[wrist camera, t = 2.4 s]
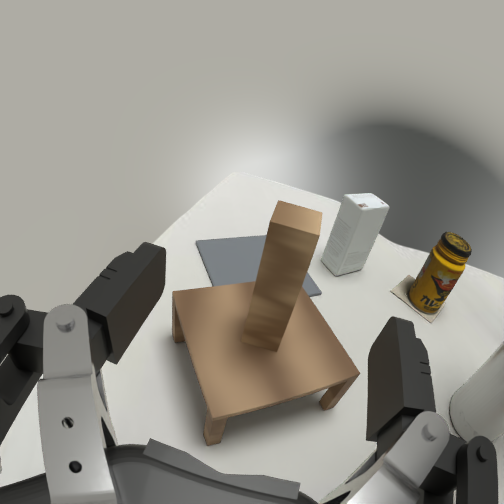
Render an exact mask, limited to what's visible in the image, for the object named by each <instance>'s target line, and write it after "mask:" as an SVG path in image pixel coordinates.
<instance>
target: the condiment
mask: <svg viewBox="0 0 504 504" xmlns="http://www.w3.org/2000/svg"><path fill="white" fill-rule="evenodd" d="M470 255H471V247H470V245H469V244H468V243H467V242H466V241H465V240H464V239H463V238H461V237H460V236H458V235H457V234H454V233H451V232H445V233H444V234H443V235H442V236H441V239H440V240H439V242H438V244H437V245H436V246H435V247H433V249H432V250H431V252H430V254H429V256H428V258H427V260H426V262H425V263H424V265H423V267H422V269H421V271H420V273H419V274H418V276H417V278H416V279H414V278H413V277H411V276H410V275H408V276H407V277H406V278H405V279H404V280H403V281H402V282H400V283H399V284H398V285H397V286H396V287H395V288H393V289H392V290H391V292H392V293H394V294H395V295H396V296H398V297H399V298H401V299H402V300H403V301H404V302H406V303H407V304H408V305H409V306H410V307H411V308H413V309H414V310H415V311H416V312H418V313H419V314H420V315H421V316H423V317H424V318H425V319H426V320H428V321H429V322H431V323H432V322H433V320H434V319H435V318H436V316H437V315H438V314H439V312H440V311H441V309H442V308H443V307H444V305H445V304H446V303H445V302H444V301H445V300H446V298H447V296H448V295H449V294H450V292H451V290H452V289H453V287H454V286H455V284H456V283H457V281H458V279H459V277H460V276H461V274H462V273H463V271H464V269H465V263H466V262H467V260H468V257H469V256H470ZM405 293H406V294H405ZM406 295H407V296H406Z"/></svg>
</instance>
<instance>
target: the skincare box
mask: <svg viewBox="0 0 504 504" xmlns="http://www.w3.org/2000/svg"><path fill="white" fill-rule="evenodd" d="M388 210H389V206H388V205H387V204H386V203H385V202H383V201H382V200H380V199H379V198H378V197H376V196H375V195H373V194H372V193H366V194H350V195H349V194H348V195H344V197H343V200H342V203H341V206H340V209H339V212H338V215H337V217H336V220H335V223H334V226H333V229H332V231H331V234H330V237H329V240H328V242H327V245H326V248H325V250H324V253H323V256H322V258H321V260H322V262H323V263H324V264H325V266H326V267H327V268H328V269H329V270H330V271H331V272H332V273H333V274H334V275H335V276H339V275H342V274H346V273H349V272H353V271H357V270H360V269H362V268H363V266H364V264H365V262H366V260H367V257H368V255H369V253H370V251H371V249H372V246H373V244H374V242H375V240H376V237H377V235H378V233H379V230H380V228H381V226H382V224H383V221H384V219H385V217H386V214H387V212H388Z"/></svg>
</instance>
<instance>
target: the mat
mask: <svg viewBox="0 0 504 504" xmlns="http://www.w3.org/2000/svg"><path fill="white" fill-rule="evenodd" d="M266 236H267V235H264V236H250V237H237V238H224V239H211V240H198V241H196V245H197V247H198V250H199V252H200V255H201V257H202V260H203V262H204V265H205V267H206V270H207V272H208V275H209V277H210V280H211V282H212V285H213V287H214V286H222V285H230V284H238V283H245V282H253V281H256V278H257V274H258V269H259V265H260V261H261V257H262V253H263V249H264V244H265V240H266ZM302 287H303V288H304V290H305V291H306V293H307V294H308V296H309V297H311V296H316V295H321V293H322V292H321V291H320V289H319V288H318V286H317V285H316V284H315V282H314V281H313V280H312V278H311V277H310V275H309V274H308V273H307V274H306V276H305V279H304V282H303V285H302Z"/></svg>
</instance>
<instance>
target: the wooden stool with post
mask: <svg viewBox="0 0 504 504" xmlns="http://www.w3.org/2000/svg"><path fill="white" fill-rule="evenodd" d="M321 220H322V212H318V211H315V210H311V209H308V208H304V207H301V206H297V205H294V204H290V203H287V202H283V201H279V200H278V203H277V205H276V208H275V210H274V213H273V215H272V218H271V220H270V223H269V228H268V232H267V236H266V240H265V244H264V249H263V253H262V257H261V261H260V265H259V269H258V274H257V278H256V281H253V282H245V283H238V284H230V285H222V286H214V287H206V288H197V289H189V290H180V291H173V292H172V335H173V338H174V342H175V343H176V342H183V341H186V344H187V348H188V351H189V354H190V357H191V360H192V364H193V367H194V370H195V373H196V376H197V379H198V382H199V385H200V388H201V391H202V394H203V397H204V400H205V403H206V405H207V413H206V420H205V427H204V434H203V435H204V438H205V441H206V443H207V446H209V445H213V444H218V443H220V442H221V439H222V435H223V432H224V428H225V425H226V422H227V418H228V417H232V416H237V415H241V414H244V413H248V412H252V411H256V410H260V409H263V408H267V407H270V406H274V405H277V404H281V403H284V402H287V401H290V400H294V399H297V398H300V397H303V396H306V395H309V394H312V393H315V392H318V391H321V390H324V389H327V388H328V390H327V391H326V393H325V394H324V395H323V397H322V398H321V400H320V401H319V403H320V404H321V406H322V408H323V410H324V411H325V410H328V409H330V408H333V407H334V406H335V405H336V404H337V403H338V401H339V400H340V399H341V398H342V396H343V395H344V394H345V393H346V391H347V390H348V389H349V387H350V386H351V385H352V384H353V382H354V381H355V380H356V378H357V377H358V376H359V374H360V372H359V371H358V369H357V368H356V366H355V365H354V363H353V362H352V360H351V359H350V357H349V356H348V354H347V352H346V351H345V349H344V348H343V346H342V345H341V343H340V342H339V340H338V339H337V337H336V336H335V334H334V333H333V331H332V330H331V328H330V327H329V325H328V324H327V322H326V321H325V319H324V318H323V316H322V315H321V313H320V312H319V311H318V309H317V308H316V306H315V305H314V303H313V302H312V300H311V299H310V297H309V296H308V294H307V293H306V291H305V290H304V288H303V287H302V285H303V282H304V279H305V276H306V274H307V271H308V268H309V265H310V262H311V259H312V257H313V254H314V251H315V248H316V245H317V242H318V239H319V236H320V229H321Z"/></svg>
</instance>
